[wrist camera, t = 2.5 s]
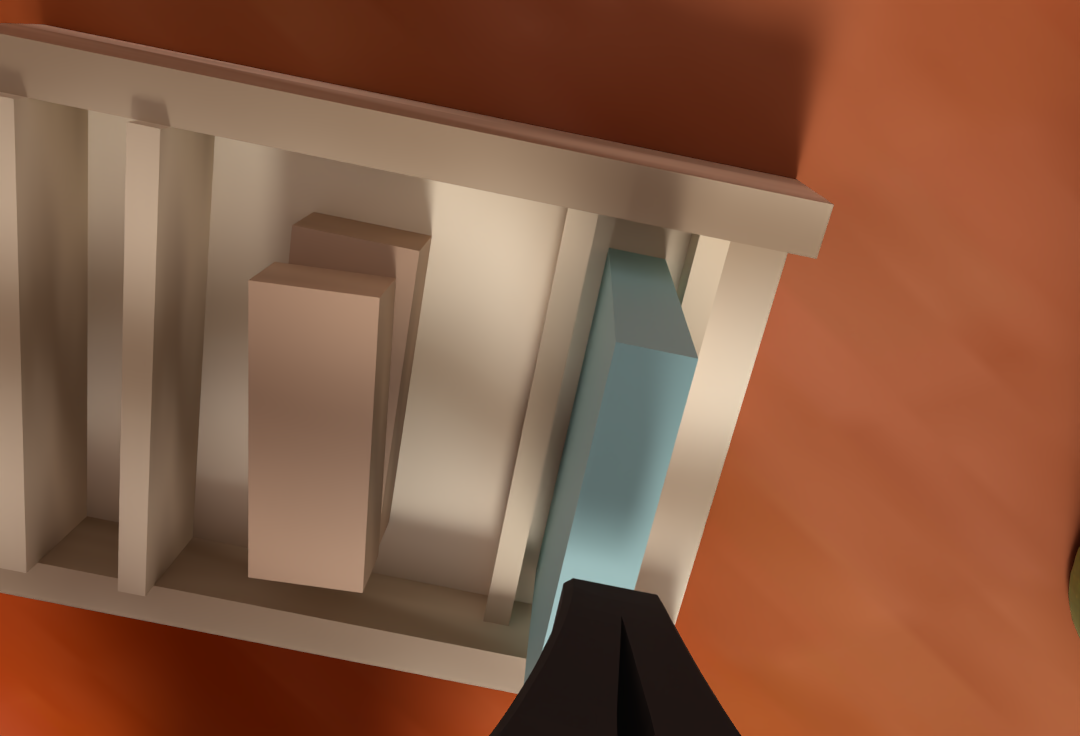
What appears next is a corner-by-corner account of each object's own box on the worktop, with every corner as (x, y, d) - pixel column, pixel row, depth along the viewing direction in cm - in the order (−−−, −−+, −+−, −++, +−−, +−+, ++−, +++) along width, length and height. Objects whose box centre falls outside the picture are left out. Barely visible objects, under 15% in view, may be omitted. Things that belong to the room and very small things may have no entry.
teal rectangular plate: (584, 578, 21) (582, 777, 15) (535, 569, 21) (514, 764, 15) (665, 259, 18) (697, 358, 12) (608, 247, 18) (615, 341, 12)
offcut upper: (378, 555, 19) (362, 593, 18) (271, 540, 19) (248, 577, 18) (395, 277, 17) (379, 297, 16) (274, 261, 17) (248, 280, 16)
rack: (659, 638, 22) (671, 736, 19) (50, 517, 22) (-40, 597, 19) (796, 179, 18) (840, 208, 15) (43, 24, 18) (-75, 20, 15)
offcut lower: (389, 521, 21) (375, 554, 19) (285, 501, 21) (264, 532, 19) (431, 235, 18) (419, 251, 17) (313, 212, 18) (291, 225, 17)
